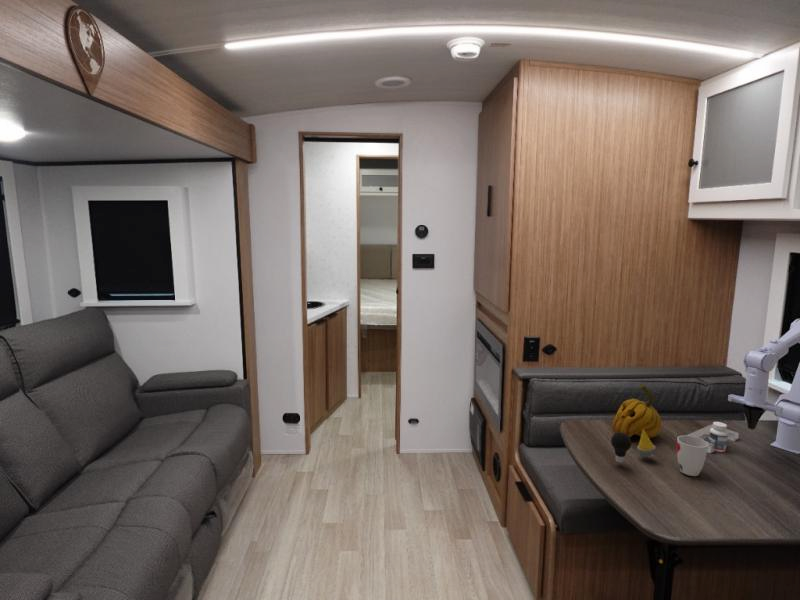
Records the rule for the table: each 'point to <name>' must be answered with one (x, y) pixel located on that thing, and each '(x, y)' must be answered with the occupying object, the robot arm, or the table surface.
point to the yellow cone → (645, 445)
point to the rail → (704, 436)
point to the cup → (691, 454)
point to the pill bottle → (718, 436)
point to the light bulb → (620, 445)
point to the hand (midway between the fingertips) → (751, 428)
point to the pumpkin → (637, 417)
